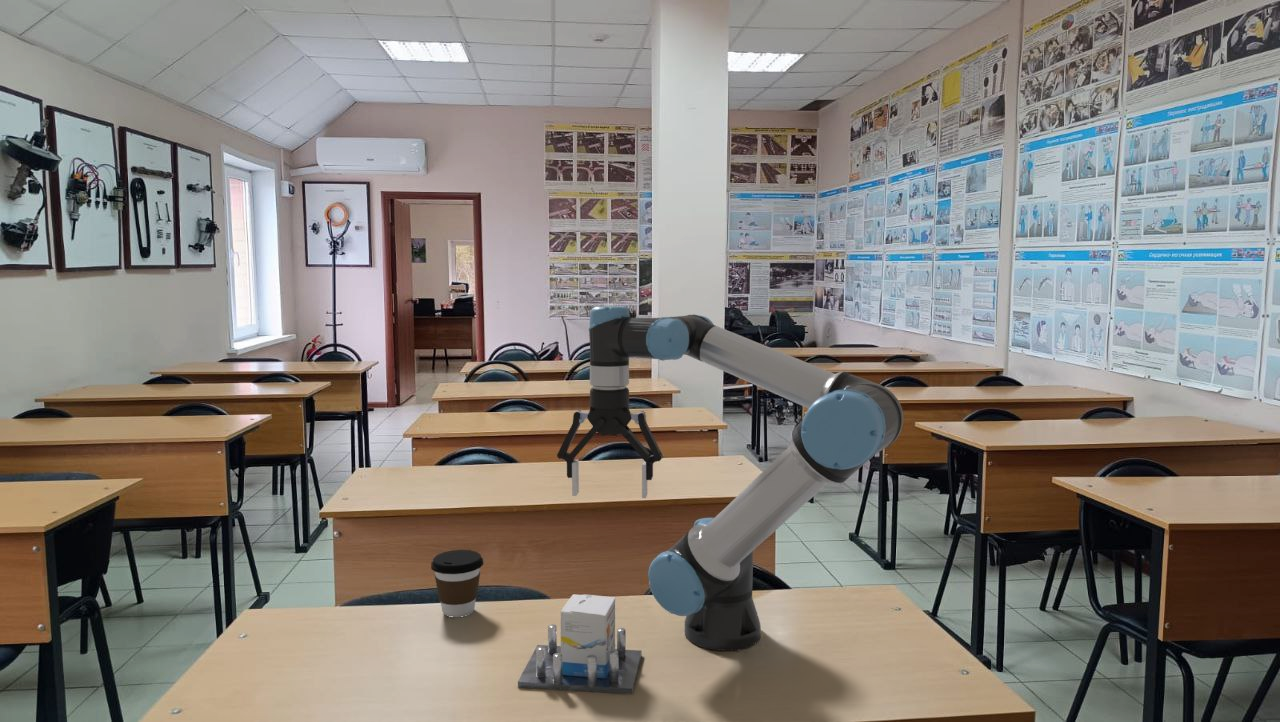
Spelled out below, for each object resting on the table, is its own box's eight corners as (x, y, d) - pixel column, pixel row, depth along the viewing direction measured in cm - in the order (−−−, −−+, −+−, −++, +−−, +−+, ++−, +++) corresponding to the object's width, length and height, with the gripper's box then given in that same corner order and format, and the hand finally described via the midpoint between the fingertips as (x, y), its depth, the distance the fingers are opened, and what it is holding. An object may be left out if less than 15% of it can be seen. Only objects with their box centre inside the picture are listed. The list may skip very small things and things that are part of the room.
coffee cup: (467, 626, 160) (466, 569, 159) (421, 618, 164) (419, 563, 162) (494, 605, 170) (492, 552, 169) (450, 599, 174) (449, 546, 173)
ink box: (606, 679, 137) (606, 615, 135) (559, 675, 138) (558, 611, 137) (616, 656, 145) (616, 595, 144) (572, 652, 146) (571, 592, 145)
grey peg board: (641, 654, 148) (641, 624, 147) (631, 695, 133) (631, 661, 133) (538, 648, 150) (537, 618, 150) (517, 688, 136) (516, 655, 135)
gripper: (675, 385, 153) (675, 492, 155) (550, 383, 155) (551, 488, 158) (672, 390, 145) (672, 502, 147) (541, 388, 148) (542, 498, 150)
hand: (609, 495), depth 152 cm, fingers open, 13 cm apart
